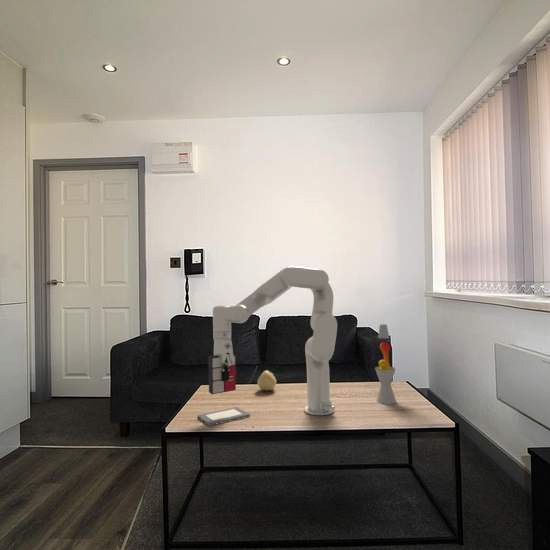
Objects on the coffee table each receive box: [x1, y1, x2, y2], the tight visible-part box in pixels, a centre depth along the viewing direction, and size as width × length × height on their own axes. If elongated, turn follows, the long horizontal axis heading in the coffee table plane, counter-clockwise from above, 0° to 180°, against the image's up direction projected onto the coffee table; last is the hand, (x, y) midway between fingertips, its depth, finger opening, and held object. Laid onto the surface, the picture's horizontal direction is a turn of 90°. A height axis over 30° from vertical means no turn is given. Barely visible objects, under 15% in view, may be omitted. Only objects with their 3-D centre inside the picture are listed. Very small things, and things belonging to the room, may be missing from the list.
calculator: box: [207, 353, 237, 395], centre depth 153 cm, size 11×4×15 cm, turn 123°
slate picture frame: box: [197, 406, 251, 426], centre depth 152 cm, size 12×18×1 cm, turn 123°
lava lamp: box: [374, 323, 397, 405], centre depth 169 cm, size 9×9×35 cm
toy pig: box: [256, 369, 277, 391], centre depth 192 cm, size 10×12×11 cm
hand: (223, 379), depth 153 cm, fingers closed on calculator, 3 cm apart
